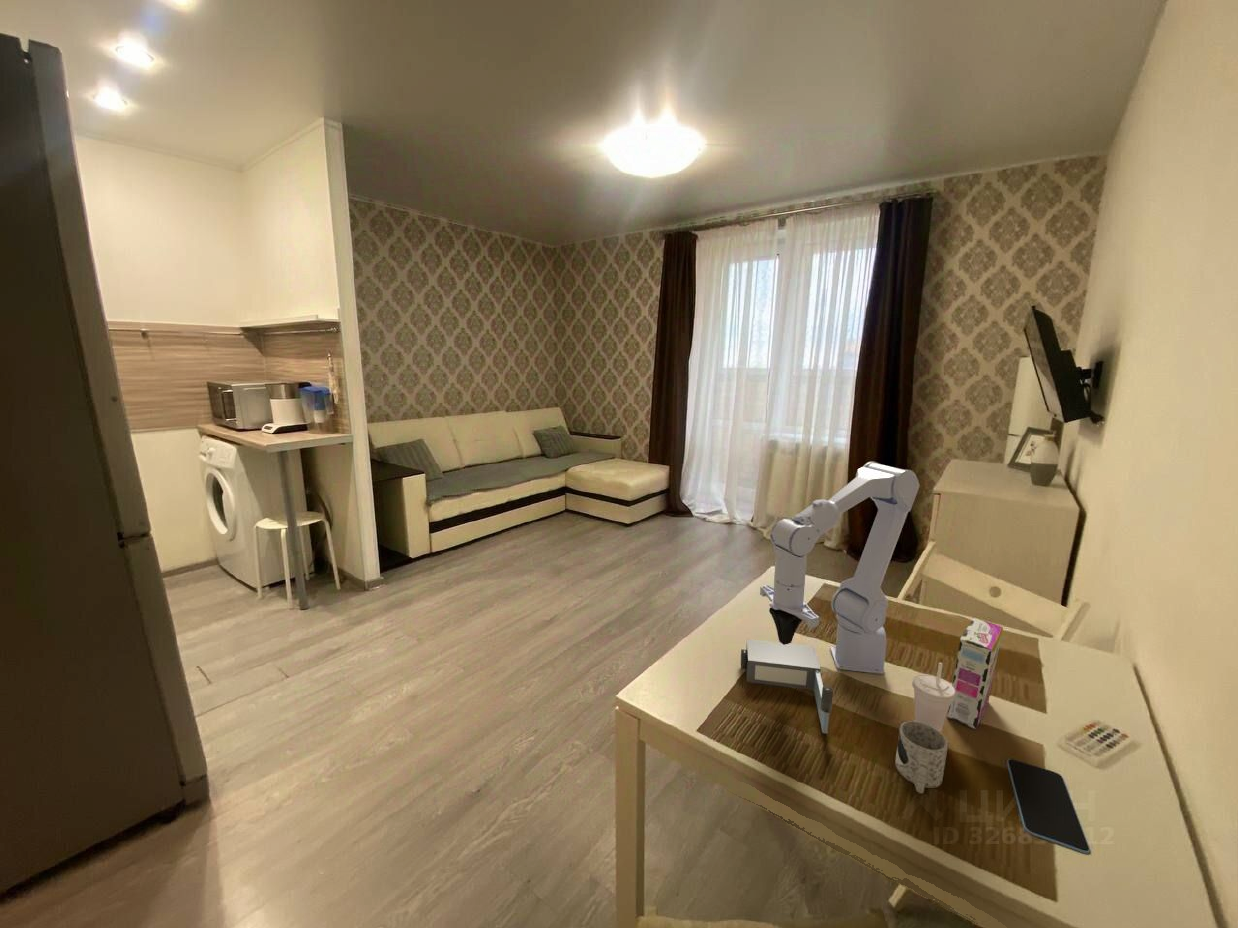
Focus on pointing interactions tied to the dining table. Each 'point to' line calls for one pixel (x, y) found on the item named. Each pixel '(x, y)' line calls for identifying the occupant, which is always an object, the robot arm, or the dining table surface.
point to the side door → (823, 701)
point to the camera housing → (780, 664)
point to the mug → (921, 754)
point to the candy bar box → (974, 672)
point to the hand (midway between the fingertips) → (785, 641)
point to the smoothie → (932, 698)
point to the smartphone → (1046, 806)
